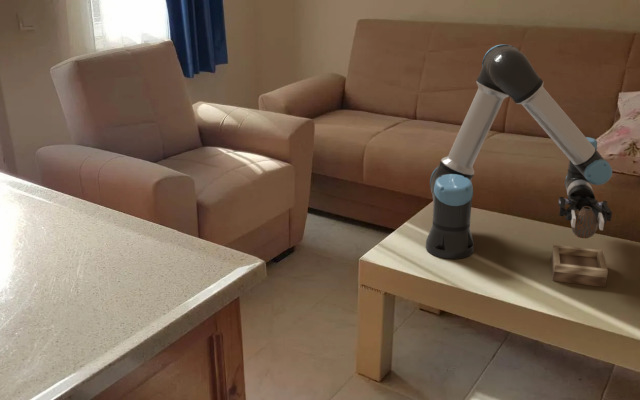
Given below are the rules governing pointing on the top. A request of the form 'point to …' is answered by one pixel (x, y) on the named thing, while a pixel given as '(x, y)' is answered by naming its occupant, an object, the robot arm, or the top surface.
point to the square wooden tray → (578, 265)
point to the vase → (585, 223)
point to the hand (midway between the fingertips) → (587, 224)
